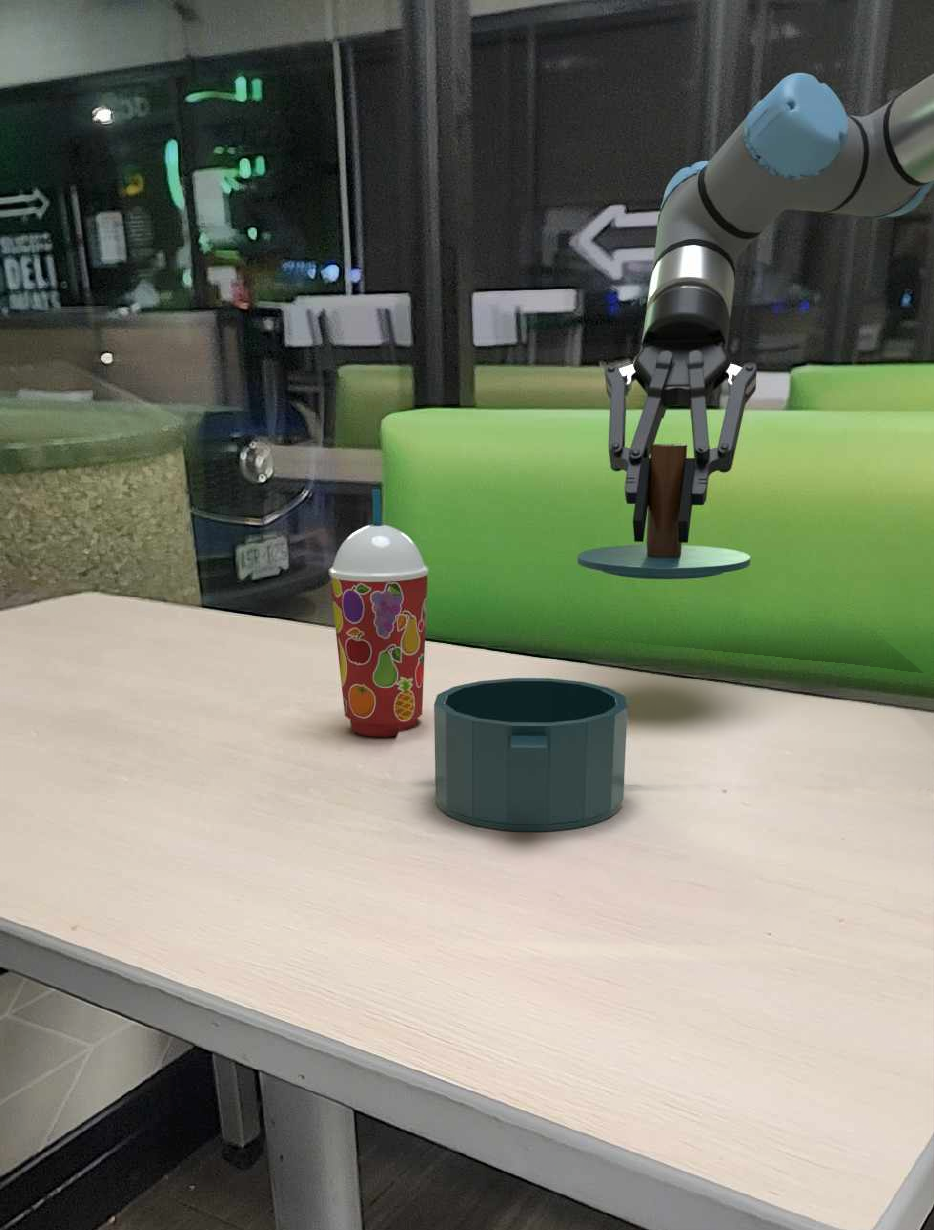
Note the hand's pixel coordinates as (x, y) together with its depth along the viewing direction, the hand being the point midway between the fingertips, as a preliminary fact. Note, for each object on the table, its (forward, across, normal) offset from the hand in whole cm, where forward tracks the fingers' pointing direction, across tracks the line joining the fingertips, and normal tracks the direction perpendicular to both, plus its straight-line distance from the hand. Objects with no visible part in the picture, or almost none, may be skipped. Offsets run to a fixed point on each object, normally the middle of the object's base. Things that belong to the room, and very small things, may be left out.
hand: (660, 531), depth 105 cm
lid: (-1, 0, -5) cm, 5 cm away
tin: (+28, +7, +4) cm, 29 cm away
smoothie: (+16, +23, -8) cm, 29 cm away
